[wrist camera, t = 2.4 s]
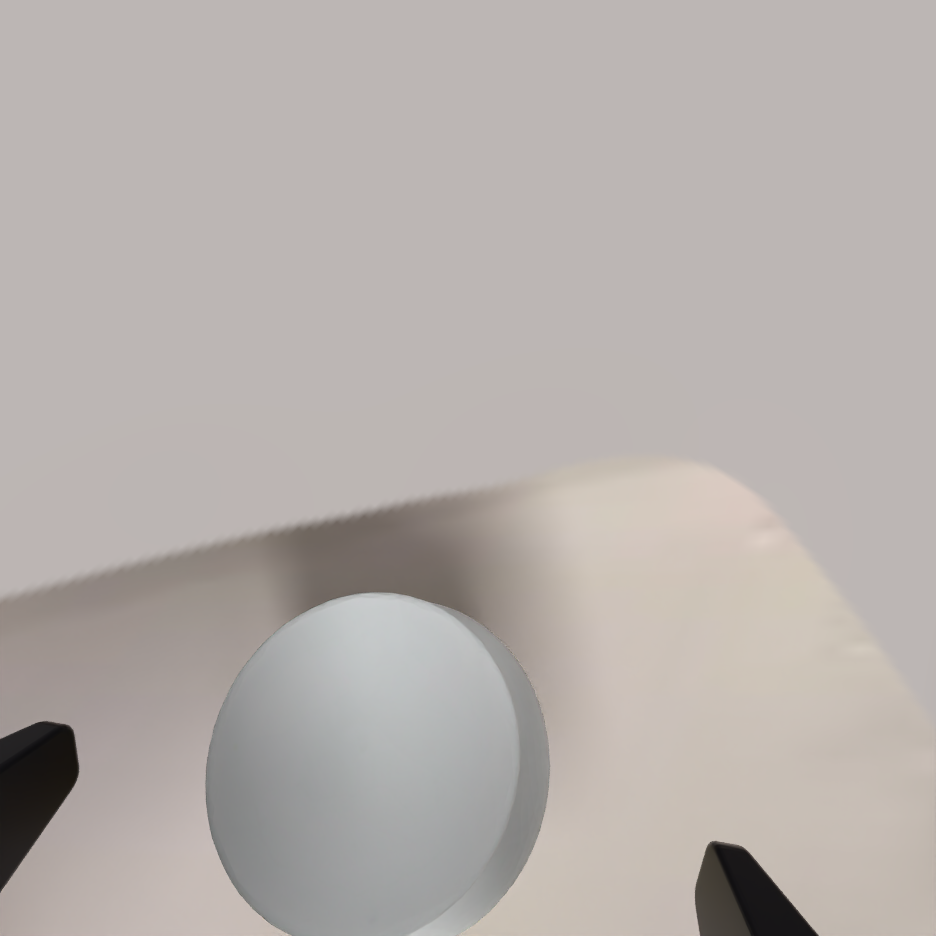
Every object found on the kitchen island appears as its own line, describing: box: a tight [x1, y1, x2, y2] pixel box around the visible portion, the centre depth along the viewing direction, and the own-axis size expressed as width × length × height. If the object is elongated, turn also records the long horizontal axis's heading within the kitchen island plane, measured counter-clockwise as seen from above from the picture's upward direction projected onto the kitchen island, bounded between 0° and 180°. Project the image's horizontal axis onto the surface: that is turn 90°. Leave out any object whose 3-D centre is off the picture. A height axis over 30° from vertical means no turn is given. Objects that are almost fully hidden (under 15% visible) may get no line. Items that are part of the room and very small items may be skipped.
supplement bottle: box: [206, 592, 550, 936], centre depth 11 cm, size 5×5×10 cm
